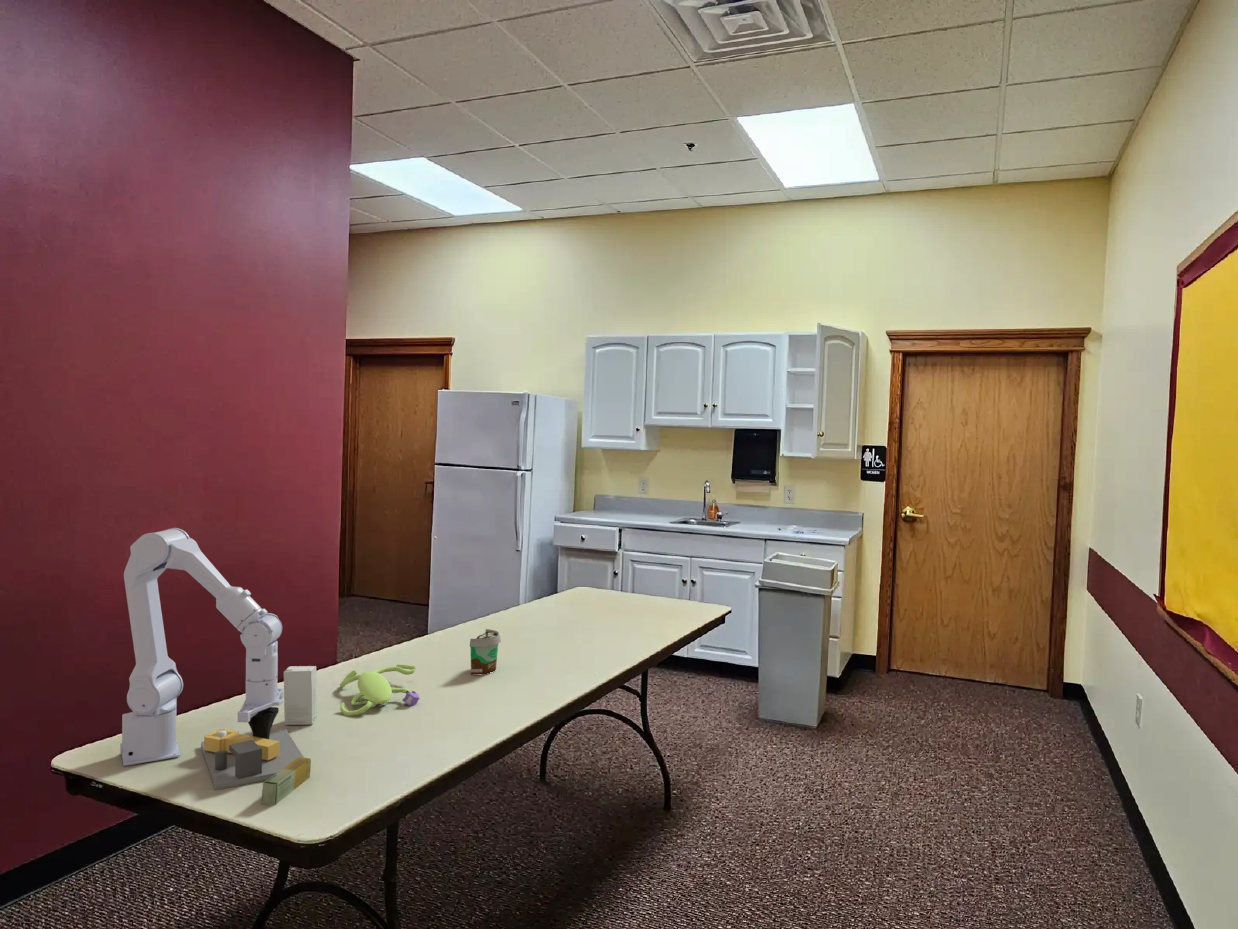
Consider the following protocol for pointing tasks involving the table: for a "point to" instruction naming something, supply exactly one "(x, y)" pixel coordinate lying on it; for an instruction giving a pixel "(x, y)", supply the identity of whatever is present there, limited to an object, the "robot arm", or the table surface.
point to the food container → (484, 652)
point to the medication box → (285, 781)
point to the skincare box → (300, 695)
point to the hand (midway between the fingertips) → (261, 746)
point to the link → (217, 743)
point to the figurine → (377, 688)
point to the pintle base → (248, 760)
